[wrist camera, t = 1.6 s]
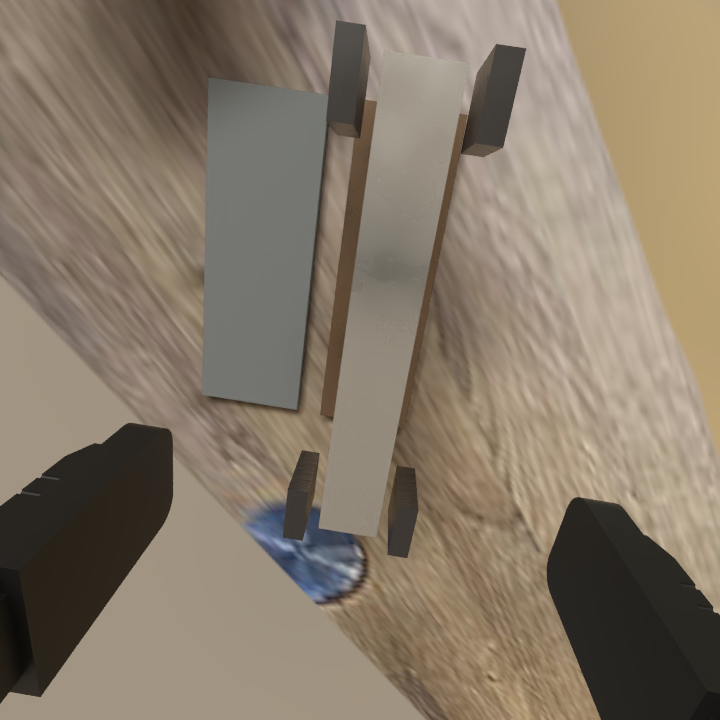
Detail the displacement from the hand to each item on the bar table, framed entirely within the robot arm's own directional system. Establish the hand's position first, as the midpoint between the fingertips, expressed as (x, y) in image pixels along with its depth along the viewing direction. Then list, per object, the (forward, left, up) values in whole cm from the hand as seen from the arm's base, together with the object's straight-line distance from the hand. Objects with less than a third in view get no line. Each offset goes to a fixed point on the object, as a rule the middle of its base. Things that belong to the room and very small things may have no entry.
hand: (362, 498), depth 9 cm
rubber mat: (-9, 0, -26) cm, 28 cm away
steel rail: (0, 0, -14) cm, 14 cm away
